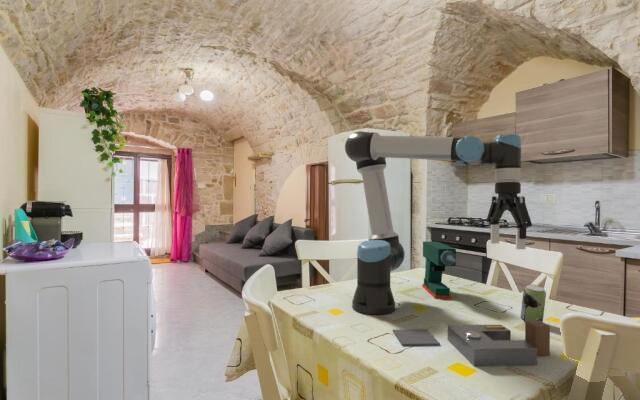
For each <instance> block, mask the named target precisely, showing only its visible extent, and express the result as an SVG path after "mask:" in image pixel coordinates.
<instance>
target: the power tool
mask: <svg viewBox="0 0 640 400" xmlns="http://www.w3.org/2000/svg"><path fill="white" fill-rule="evenodd" d="M422 257H423V258H425V260H426V261H425V272H424V273H425V274H424V278H423V283H422V285H421V287H422V288H423V289H424V290H425V291H426V292H427V293H428V294H430V296H432V297H433V299H434V300H437V299H439V300H443V299H444V300H449V299H450V300H451V299H453V298H452V297H453V296H452V295H451V289H450V287H448V286H447V285H445V283H443V282H442V281H443V280H442V278H443V272H446V267H457V266H456V265H457V250H456V248H455V247H452V246H449V245H447V244H444V243H442V242H440V241H422Z"/></svg>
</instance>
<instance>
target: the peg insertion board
mask: <svg viewBox="0 0 640 400" xmlns="http://www.w3.org/2000/svg"><path fill="white" fill-rule="evenodd" d="M511 336H512V335H511V330H510V329H509V328H507V327H506V326H504V325H502V324H447V341H448V342H449V343H450V344H451V345H452V346H453V347H454V348H455V349H456V350H457V351H458V352H459V353H460V354H461V355H463V357H464V358H465V359H466V360H467V361H468V362H469V363H471V365H472V366H473V367H495V366H499V367H502V366H504V367H505V366H507V367H508V366H510V367H511V366H537V365H538V356H537V348H536V347H535V346H533V345H532V344H530V343H529V342H527V341H526V340H525V339H516V340H515V339H512V338H511ZM511 339H512V340H511Z"/></svg>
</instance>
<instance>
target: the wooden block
mask: <svg viewBox="0 0 640 400" xmlns="http://www.w3.org/2000/svg"><path fill="white" fill-rule="evenodd" d="M524 324H525V328H524V331H525V333H524V340H526V341H527V342H529V343H530V344H532V345H533V346H535V347H536V348H537V357H550V353H551V350H550V348H551V345H550V344H551V341H550V340H551V327H550V326H551V325H549V324H547V323H545V322H544V321H543V322H541V321H539V320H538V321H526V322H524Z"/></svg>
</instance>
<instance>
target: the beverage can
mask: <svg viewBox="0 0 640 400" xmlns="http://www.w3.org/2000/svg"><path fill="white" fill-rule="evenodd" d="M522 292H523V293H522V299H521V309H520V310H521V311H520V319H521V320H522V321H523V322H524V323H525V322H526V321H538V320H539V321H541V322H543V323H544V314H545V305H546V296H547V292H546V290H545V288H544V287H542V286H541V285H539V284H538V285H537V284H532V283H531V284H526V285H525V287H524V288H523V291H522Z"/></svg>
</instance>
